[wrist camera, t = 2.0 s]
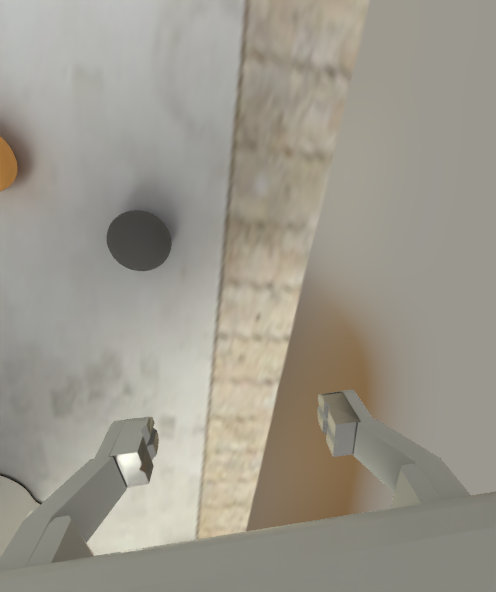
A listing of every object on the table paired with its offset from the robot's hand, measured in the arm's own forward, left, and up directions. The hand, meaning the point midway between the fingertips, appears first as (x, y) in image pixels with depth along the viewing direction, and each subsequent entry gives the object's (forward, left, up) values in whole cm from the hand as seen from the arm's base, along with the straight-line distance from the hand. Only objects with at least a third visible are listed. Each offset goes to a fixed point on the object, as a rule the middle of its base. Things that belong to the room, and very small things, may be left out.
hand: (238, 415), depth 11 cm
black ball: (0, +10, -17) cm, 19 cm away
